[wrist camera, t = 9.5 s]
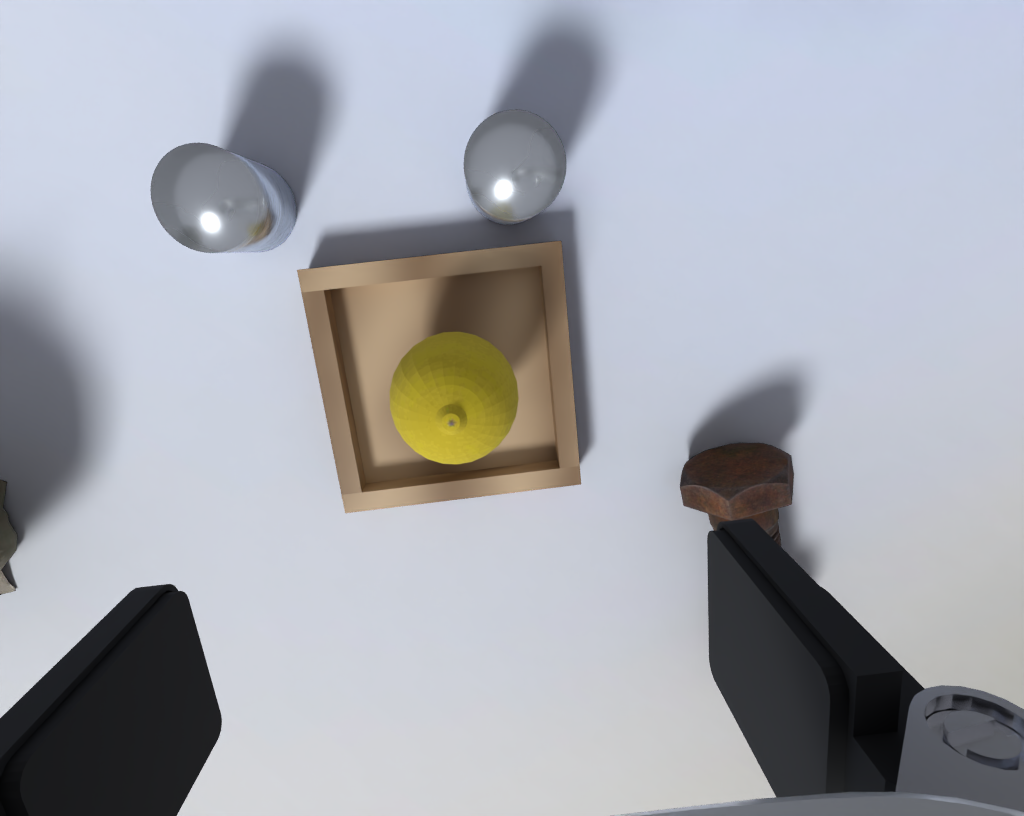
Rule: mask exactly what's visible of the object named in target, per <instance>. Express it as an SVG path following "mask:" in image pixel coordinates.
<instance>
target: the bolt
mask: <svg viewBox="0 0 1024 816" xmlns="http://www.w3.org/2000/svg"><path fill="white" fill-rule="evenodd" d="M793 479H794V472H793V466H792V459H791V455H789V454H788V453H786V452H784V451H782V450H781V449H779V448H776V447H774V446H772V445H768V444H764V443H736V444H728V445H724V446H721V447H717V448H713V449H709V450H706V451H704V452H701V453H700V454H698V455H696V456H694V457H693V458H692V459H690V460H689V461H687V462H686V463H685V465H684V468H683V470H682V475H681V482H680V490H681V495H682V500H683V505H684V506H686V507H689V508H693V509H696V510H699V511H702V512H705V513H708V515H709V520H710V524H711V525H712V527H713V529H714V531H716V530H717V525H718V523H719V522H723V521H732V520H741V519H751V518H752V519H753V520H755V521H756V522H757V523H758V524H759V525H760V526H761V527H762V528H763V529H764V530H765V531H766V532H767V533H768V534H769V535H770V537H771V538H772V539H773V540H774V541H775V542H776V543H777V544H778V545H779V546H780V547H781V539H780V533H779V526H778V519H779V513H778V508H781V507H784V506H788V505H791V504H792V495H793Z"/></svg>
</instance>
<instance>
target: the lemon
mask: <svg viewBox="0 0 1024 816" xmlns="http://www.w3.org/2000/svg"><path fill="white" fill-rule="evenodd" d="M518 400H519V397H518V387H517V380H516V378H515V375H514V372H513V370H512V367H511V365H510V364H509V362H508V361H507V359H506V358H505V357H504V355H503V354H502V352H500V351H499V350H498V349H497V348H496V347H495V346H493V345H492V344H491V343H490V342H489V341H487V340H484V339H482V338H480V337H478V336H476V335H473V334H468V333H463V332H443V333H440V334H437V335H433V336H430V337H427V338H426V339H424V340H423V341H421V342H419V343H418V344H416V345H415V346H413V347H412V348H411V349H410V350H409V351H408V353H407V354H406V355H405V356H404V357H403V358H402V359H401V361H400V363H399V365H398V366H397V368H396V370H395V372H394V374H393V378H392V382H391V387H390V411H391V414H392V418H393V421H394V424H395V427H396V429H397V430H398V432H399V433H400V435H401V437H402V438H403V440H404V441H405V442H406V443H407V444H408V445H409V446H410V447H411V448H412V449H413V450H414V451H415V452H417V453H418V454H420V455H422V456H423V457H425V458H427V459H429V460H432V461H436V462H439V463H442V464H462V463H468V462H473V461H475V460H477V459H479V458H481V457H484V456H486V455H487V454H488V453H490V452H491V451H492V450H494V449H495V448H496V447H498V446H499V444H500V443H501V442H502V441H503V439H504V438H505V437H506V436H507V434H508V433H509V431H510V429H511V427H512V424H513V422H514V420H515V417H516V413H517V407H518Z"/></svg>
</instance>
